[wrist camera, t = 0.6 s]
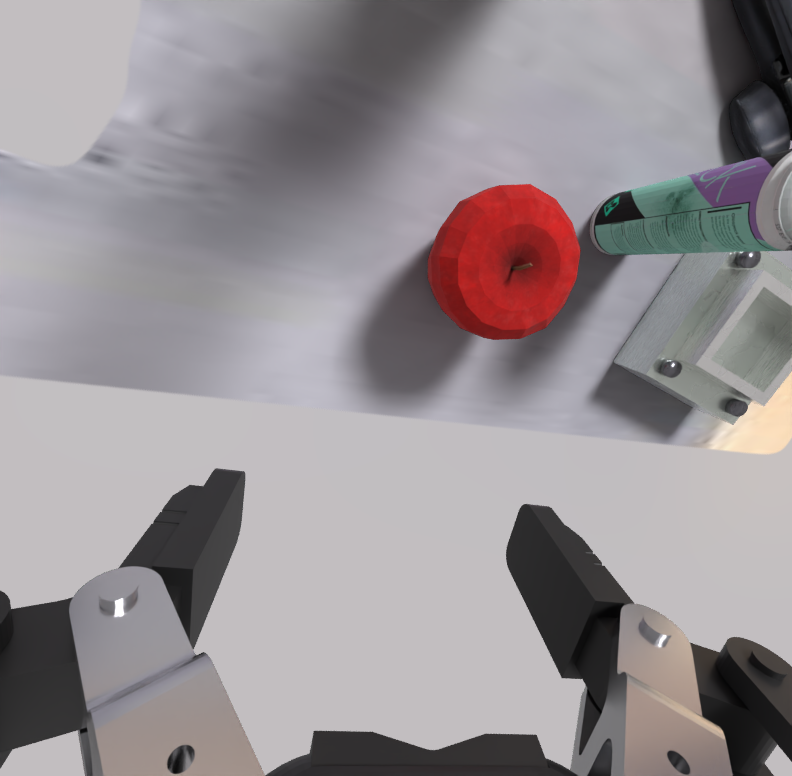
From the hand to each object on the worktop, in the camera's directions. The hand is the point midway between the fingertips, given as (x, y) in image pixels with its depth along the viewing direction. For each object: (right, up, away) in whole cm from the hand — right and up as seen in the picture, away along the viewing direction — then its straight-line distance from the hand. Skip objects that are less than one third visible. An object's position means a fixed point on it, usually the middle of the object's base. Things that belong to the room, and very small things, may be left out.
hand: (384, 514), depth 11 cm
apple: (+7, +15, +26) cm, 31 cm away
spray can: (+21, +19, +27) cm, 39 cm away
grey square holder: (+32, +10, +31) cm, 45 cm away
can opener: (+31, +33, +24) cm, 52 cm away
